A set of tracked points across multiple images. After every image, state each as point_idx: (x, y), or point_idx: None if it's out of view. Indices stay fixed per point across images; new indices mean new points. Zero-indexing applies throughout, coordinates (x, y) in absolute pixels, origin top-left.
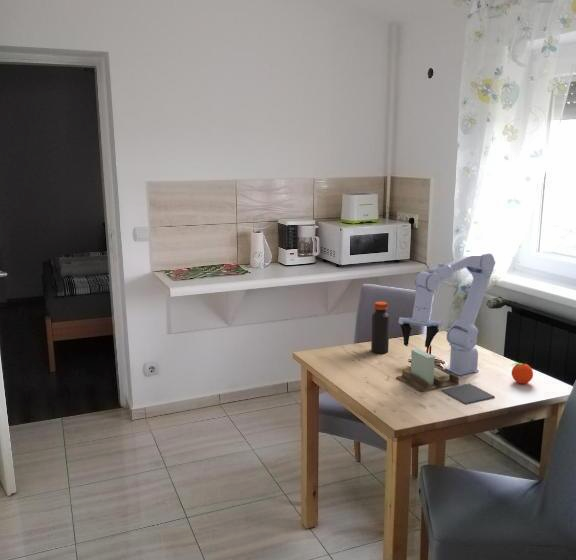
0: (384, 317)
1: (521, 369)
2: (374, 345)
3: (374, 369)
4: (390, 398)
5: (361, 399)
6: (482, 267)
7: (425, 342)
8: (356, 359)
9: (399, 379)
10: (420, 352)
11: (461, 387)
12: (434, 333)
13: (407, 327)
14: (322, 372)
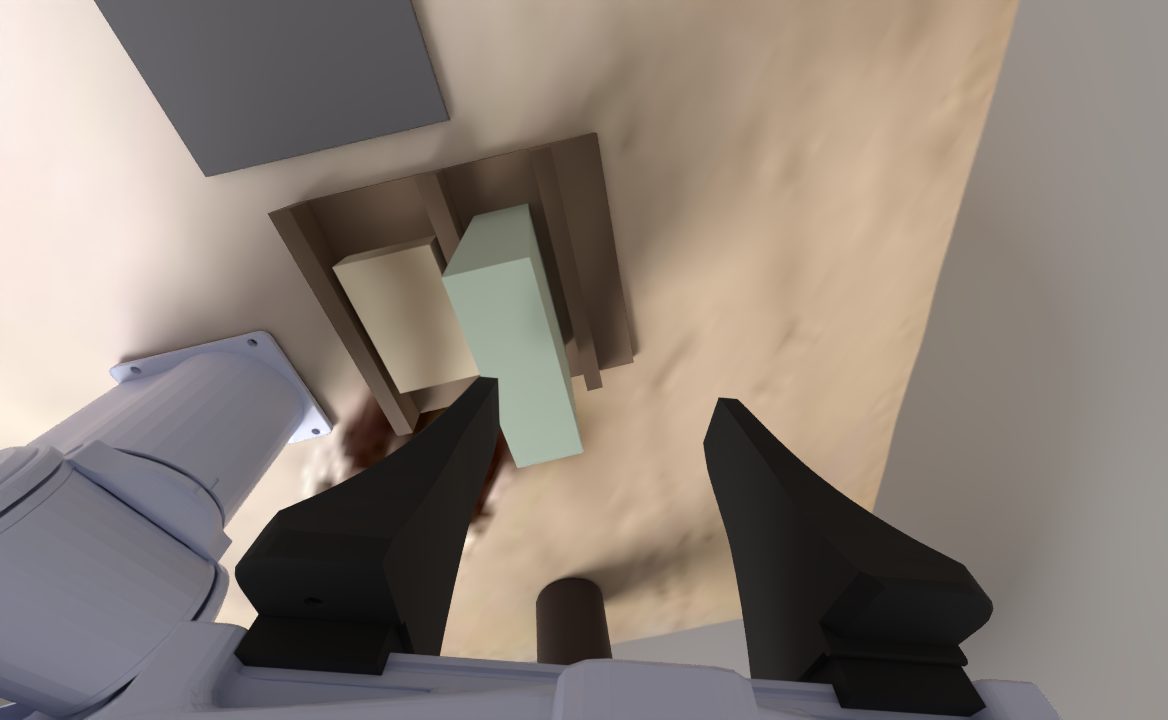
0: None
1: None
2: (603, 616)
3: (676, 457)
4: (814, 85)
5: (962, 120)
6: None
7: (490, 455)
8: (691, 543)
9: (628, 335)
10: (537, 395)
11: (284, 114)
12: (367, 492)
13: (961, 585)
14: (882, 454)
